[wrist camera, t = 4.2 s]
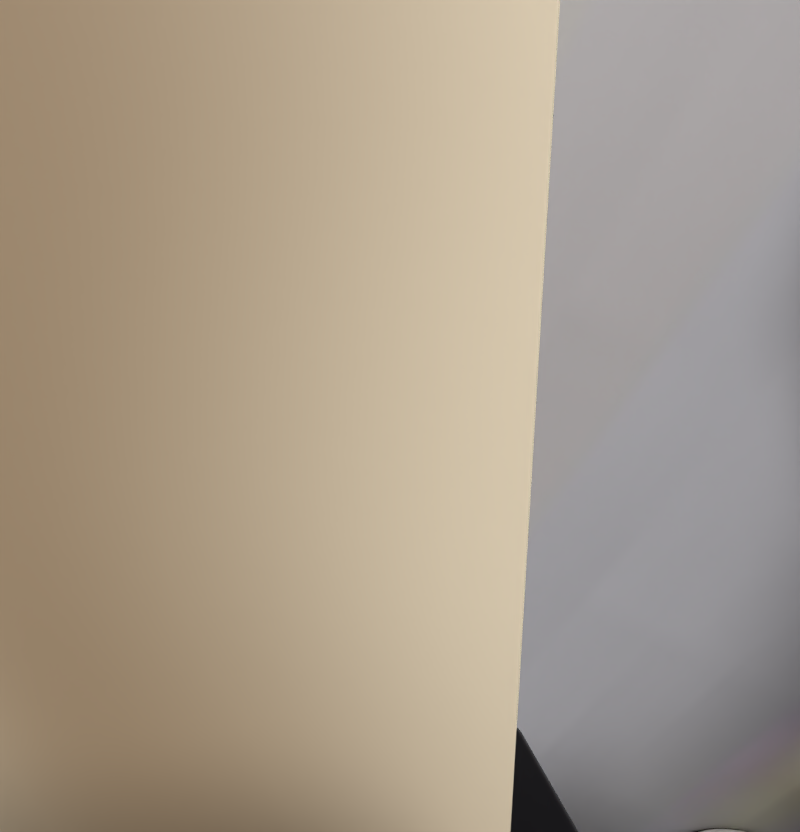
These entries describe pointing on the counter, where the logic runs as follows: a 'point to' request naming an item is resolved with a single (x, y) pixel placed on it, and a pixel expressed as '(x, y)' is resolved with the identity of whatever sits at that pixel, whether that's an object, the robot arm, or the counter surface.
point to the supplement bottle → (722, 830)
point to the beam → (267, 409)
